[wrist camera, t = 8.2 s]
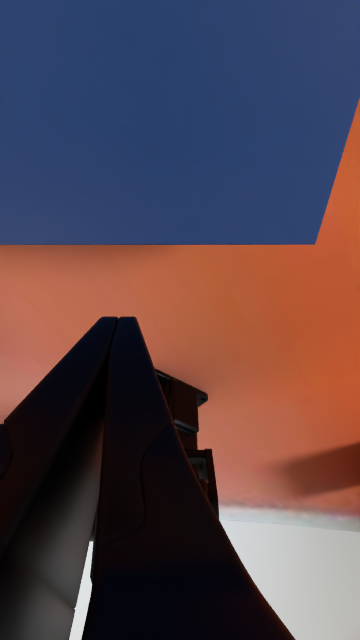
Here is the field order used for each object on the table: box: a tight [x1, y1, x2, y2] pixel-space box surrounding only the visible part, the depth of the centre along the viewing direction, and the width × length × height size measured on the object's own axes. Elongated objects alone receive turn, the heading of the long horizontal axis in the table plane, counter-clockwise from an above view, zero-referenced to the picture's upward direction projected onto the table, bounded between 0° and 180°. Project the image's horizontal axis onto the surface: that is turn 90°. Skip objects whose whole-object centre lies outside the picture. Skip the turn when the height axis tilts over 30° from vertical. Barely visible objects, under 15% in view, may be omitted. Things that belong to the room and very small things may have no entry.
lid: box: [0, 0, 360, 245], centre depth 10 cm, size 12×15×1 cm
